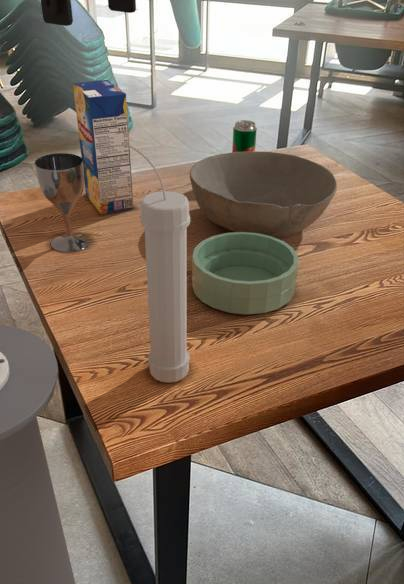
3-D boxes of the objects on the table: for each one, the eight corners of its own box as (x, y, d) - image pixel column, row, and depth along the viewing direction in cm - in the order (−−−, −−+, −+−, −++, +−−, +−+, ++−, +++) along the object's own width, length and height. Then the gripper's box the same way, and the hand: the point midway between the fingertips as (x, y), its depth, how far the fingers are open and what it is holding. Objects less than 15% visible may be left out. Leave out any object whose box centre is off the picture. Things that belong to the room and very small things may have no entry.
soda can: (241, 183, 128) (245, 128, 121) (226, 176, 131) (228, 122, 124) (257, 178, 131) (261, 123, 123) (242, 171, 134) (245, 118, 126)
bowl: (190, 255, 102) (190, 202, 96) (188, 193, 124) (188, 146, 117) (342, 255, 103) (353, 202, 97) (314, 193, 125) (321, 146, 118)
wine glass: (63, 229, 109) (51, 150, 100) (100, 237, 107) (91, 157, 97) (39, 248, 103) (24, 165, 94) (78, 256, 101) (66, 173, 92)
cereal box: (101, 214, 115) (89, 97, 101) (85, 194, 122) (72, 83, 108) (133, 209, 117) (126, 93, 103) (116, 189, 125) (107, 79, 111)
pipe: (189, 385, 75) (189, 155, 56) (141, 384, 75) (126, 154, 56) (190, 358, 79) (191, 137, 60) (145, 357, 79) (132, 136, 60)
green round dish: (224, 328, 85) (226, 294, 81) (175, 277, 96) (174, 244, 92) (314, 300, 91) (320, 267, 87) (258, 255, 102) (260, 224, 99)
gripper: (102, -210, 53) (116, 4, 64) (-49, -243, 42) (-1, 25, 53) (168, -215, 50) (171, 10, 61) (25, -251, 39) (60, 34, 50)
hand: (92, 17), depth 57 cm, fingers open, 9 cm apart
